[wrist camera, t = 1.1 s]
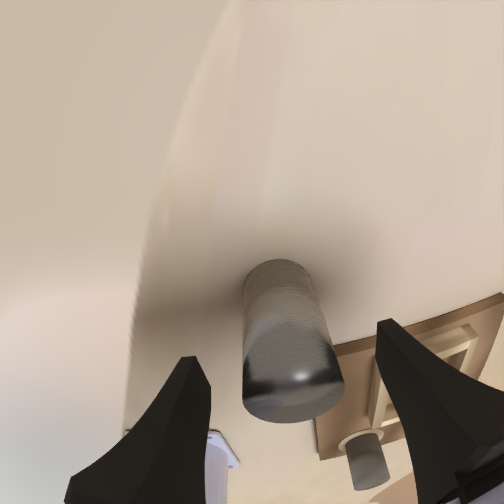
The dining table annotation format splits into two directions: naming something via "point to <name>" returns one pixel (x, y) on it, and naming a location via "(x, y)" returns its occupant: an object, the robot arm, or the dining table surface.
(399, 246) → the dining table surface
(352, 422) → the pin board
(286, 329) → the metal pin
